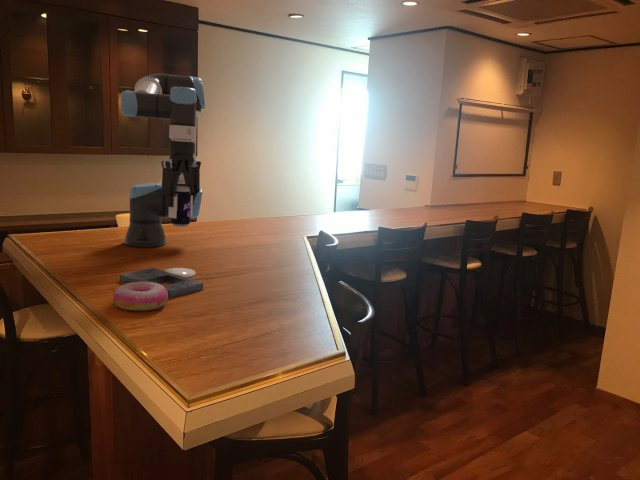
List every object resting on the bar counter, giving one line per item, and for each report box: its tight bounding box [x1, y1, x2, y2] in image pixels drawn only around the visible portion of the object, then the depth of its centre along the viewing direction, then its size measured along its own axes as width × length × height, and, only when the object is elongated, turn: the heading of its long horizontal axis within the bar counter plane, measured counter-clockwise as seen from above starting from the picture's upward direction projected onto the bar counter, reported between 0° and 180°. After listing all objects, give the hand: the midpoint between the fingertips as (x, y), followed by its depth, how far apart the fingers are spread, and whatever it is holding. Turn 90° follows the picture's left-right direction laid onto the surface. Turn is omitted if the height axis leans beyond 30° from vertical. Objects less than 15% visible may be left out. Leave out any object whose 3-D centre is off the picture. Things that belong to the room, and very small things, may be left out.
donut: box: [112, 282, 169, 312], centre depth 134 cm, size 14×13×5 cm
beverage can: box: [170, 186, 191, 228], centre depth 161 cm, size 6×6×12 cm
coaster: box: [163, 267, 196, 278], centre depth 165 cm, size 10×10×1 cm
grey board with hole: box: [119, 267, 204, 299], centre depth 152 cm, size 22×12×2 cm, turn 56°
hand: (180, 216), depth 162 cm, fingers closed on beverage can, 6 cm apart
